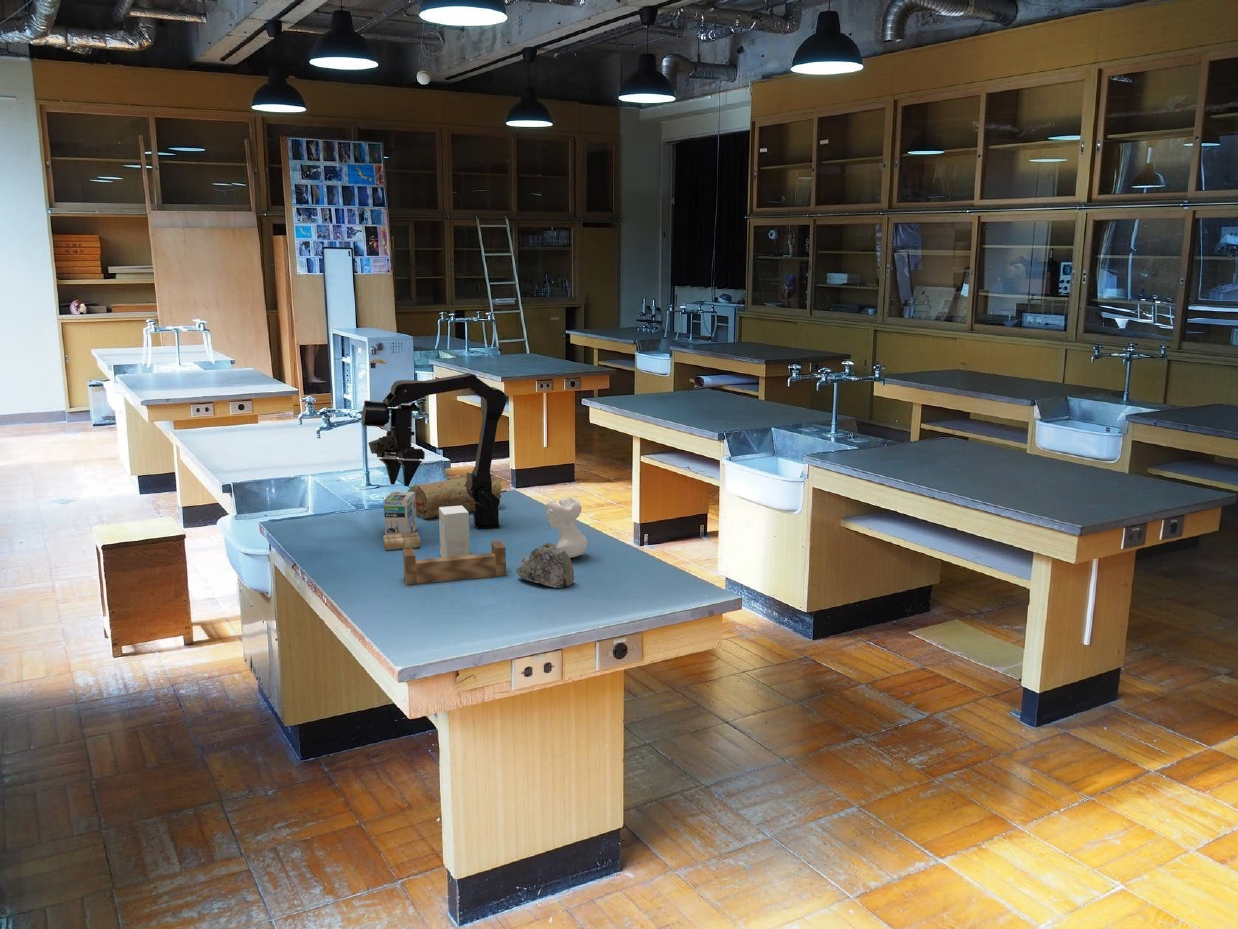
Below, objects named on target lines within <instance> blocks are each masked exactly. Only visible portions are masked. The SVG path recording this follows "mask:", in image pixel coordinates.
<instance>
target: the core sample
mask: <svg viewBox="0 0 1238 929" xmlns="http://www.w3.org/2000/svg"><path fill="white" fill-rule="evenodd" d="M490 474H491V480H492V494H494V495H495V496H496V497H497V498H498V499H499V500H500V501H501V498H502V495H501V493H502V492H501V491H502V484H501V481H500V479H499V478H497V476H496V475H495V474H493V473H490ZM466 480H467V477H462V478H454V479H448V480H441V481H435V482H434V481H433V482H427V483H420V484H419V483H418V484H414V485H412V486H411V487H410V488H409V489H408V490H407V492H415V502H416V517H419V518H421V520H422V519H423V520H427V519H433V518H439V507H449V506H463V507H464V508H465V509H466V510H467V511H468V512H469V513H471V512H473V510H474V509H475V504H477V503H476V502H475V501H474V499H473V498H472V497H470V496H469V494H468V493H467V490H466V487H465V486H464V485H465V483H466Z"/></svg>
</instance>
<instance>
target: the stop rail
mask: <svg viewBox="0 0 1238 929" xmlns="http://www.w3.org/2000/svg"><path fill="white" fill-rule="evenodd" d="M490 546H491V548H490V549H491V552H488V553H479V554H478V553H477V554H470V555H464V556H453V557H433V558H421V559H416V553H415V550H414V548H410V549H402V559H403V560H402V561H403V577H404V578H403V579H404V581H405V584H406V586H409V585H419V584H420V585H421V584H429V583H440V582H450V581H461V580H471V579H472V580H473V579H480V578H482V579H483V578H490V577H491V578H492V577H502V576H507V558H506V557H507V556H506V555H507V553H506V550H507V549H506V546H505V544H504V543H503V542H502V540H496V541H495V540H494V541H491V544H490Z"/></svg>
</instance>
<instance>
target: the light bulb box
mask: <svg viewBox="0 0 1238 929" xmlns="http://www.w3.org/2000/svg"><path fill="white" fill-rule="evenodd" d="M382 502H383V515H384V528H385V529H384V531H385V532H384V533H385V534H384V535H394V534H406V533H415V531H416V530H417V529H418V525H417V524H418V523H417V522H418V521H417V515H416V502H415V492H408V491H391V492H390V493H389V494H388V496H386V498H385V499H383V501H382Z"/></svg>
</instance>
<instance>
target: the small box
mask: <svg viewBox="0 0 1238 929" xmlns="http://www.w3.org/2000/svg"><path fill="white" fill-rule="evenodd" d="M438 518H439V519H438V520H439V521H438V522H439V525H438V526H439V527H438V528H439V550H440V553H439V555H440V558H442V557H453V556H464V555H471V540H470V538H471V534H470V533H471V532H470V512H468V511H467V510H466V509H465V508H464V507H463V506H449V507H439V517H438Z"/></svg>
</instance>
